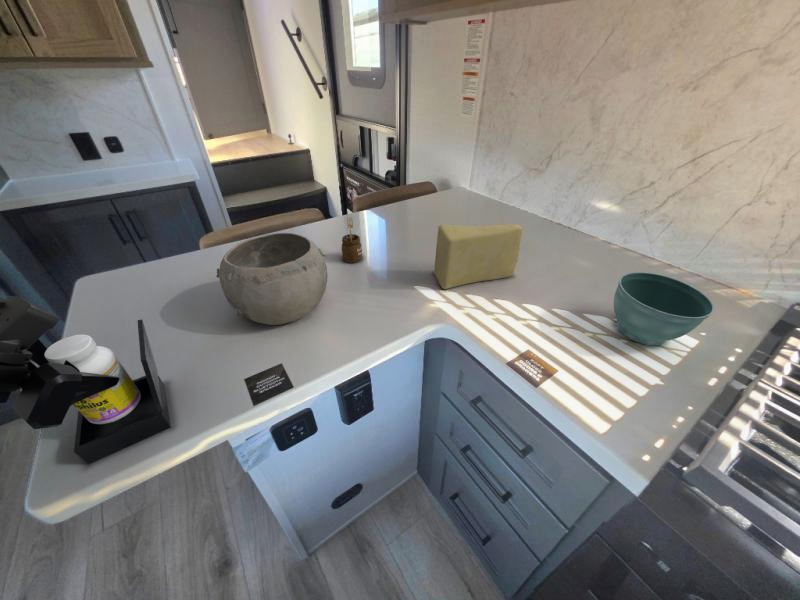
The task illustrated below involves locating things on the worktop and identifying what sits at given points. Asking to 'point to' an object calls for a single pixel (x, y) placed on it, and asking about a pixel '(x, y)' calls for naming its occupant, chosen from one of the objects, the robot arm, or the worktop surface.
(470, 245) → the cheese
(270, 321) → the bowl
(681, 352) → the worktop surface
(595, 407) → the worktop surface
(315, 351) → the worktop surface
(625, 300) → the teal green bowl
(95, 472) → the worktop surface
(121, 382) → the supplement bottle
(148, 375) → the lid
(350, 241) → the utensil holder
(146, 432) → the black open box
